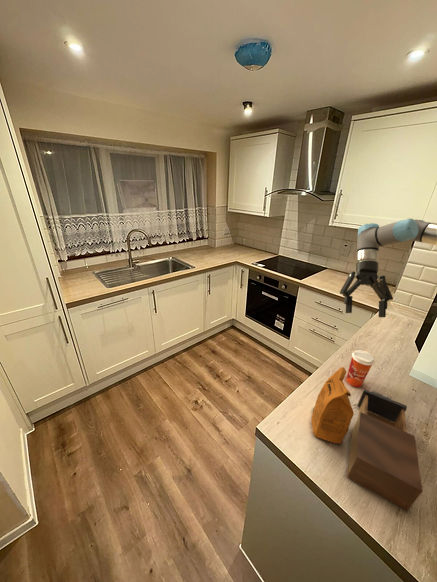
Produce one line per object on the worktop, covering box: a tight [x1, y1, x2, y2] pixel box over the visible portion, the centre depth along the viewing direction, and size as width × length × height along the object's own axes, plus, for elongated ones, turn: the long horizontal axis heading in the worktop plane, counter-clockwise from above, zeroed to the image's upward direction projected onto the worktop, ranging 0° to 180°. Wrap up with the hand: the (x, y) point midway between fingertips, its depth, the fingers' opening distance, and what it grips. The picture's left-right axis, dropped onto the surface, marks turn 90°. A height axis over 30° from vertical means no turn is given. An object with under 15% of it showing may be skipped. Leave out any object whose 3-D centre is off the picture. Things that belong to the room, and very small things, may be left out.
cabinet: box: [346, 412, 423, 512], centre depth 65 cm, size 16×14×10 cm
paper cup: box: [345, 349, 376, 388], centre depth 93 cm, size 8×8×14 cm
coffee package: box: [311, 366, 355, 444], centre depth 74 cm, size 10×12×22 cm
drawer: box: [356, 388, 408, 433], centre depth 77 cm, size 20×12×8 cm, turn 148°
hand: (365, 315), depth 91 cm, fingers open, 13 cm apart
